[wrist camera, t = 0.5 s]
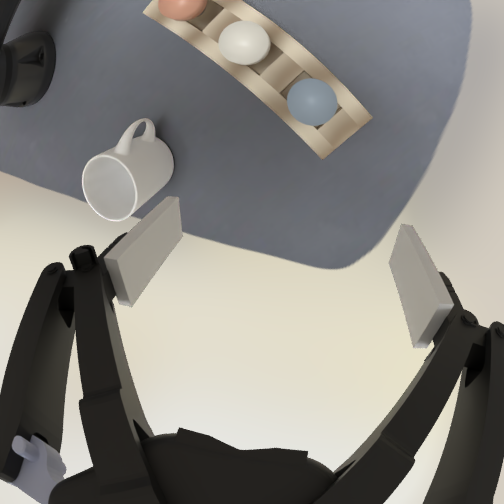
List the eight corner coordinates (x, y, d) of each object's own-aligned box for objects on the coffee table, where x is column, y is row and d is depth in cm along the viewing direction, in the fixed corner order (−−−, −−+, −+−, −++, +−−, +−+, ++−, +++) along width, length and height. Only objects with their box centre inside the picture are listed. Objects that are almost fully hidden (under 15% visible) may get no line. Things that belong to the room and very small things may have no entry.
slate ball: (280, 99, 27) (276, 101, 24) (310, 71, 25) (311, 68, 21) (311, 128, 29) (312, 135, 25) (341, 102, 26) (347, 104, 23)
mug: (190, 122, 33) (150, 138, 25) (168, 196, 40) (132, 232, 32) (137, 105, 33) (88, 118, 24) (122, 177, 40) (80, 207, 31)
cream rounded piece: (221, 50, 25) (208, 45, 21) (250, 21, 22) (241, 12, 19) (252, 74, 26) (244, 73, 23) (282, 46, 24) (278, 40, 20)
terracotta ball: (168, 14, 22) (149, 7, 19) (193, -14, 20) (178, -25, 16) (195, 31, 24) (179, 25, 20) (222, 3, 21) (210, -8, 18)
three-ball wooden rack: (153, 16, 25) (142, 12, 22) (191, -26, 21) (182, -33, 18) (321, 153, 33) (322, 159, 31) (367, 114, 29) (372, 117, 26)
